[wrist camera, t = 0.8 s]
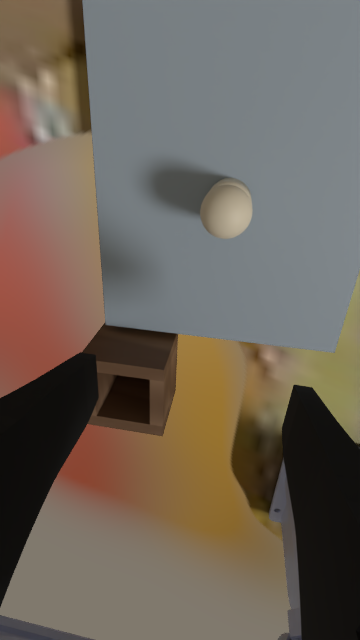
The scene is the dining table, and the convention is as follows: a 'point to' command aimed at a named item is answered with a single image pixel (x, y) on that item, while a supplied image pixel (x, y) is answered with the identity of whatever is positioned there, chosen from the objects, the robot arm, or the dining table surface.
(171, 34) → the grey rectangular slab
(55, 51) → the dining table surface
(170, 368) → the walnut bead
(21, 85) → the dining table surface
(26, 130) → the dining table surface
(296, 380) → the dining table surface
